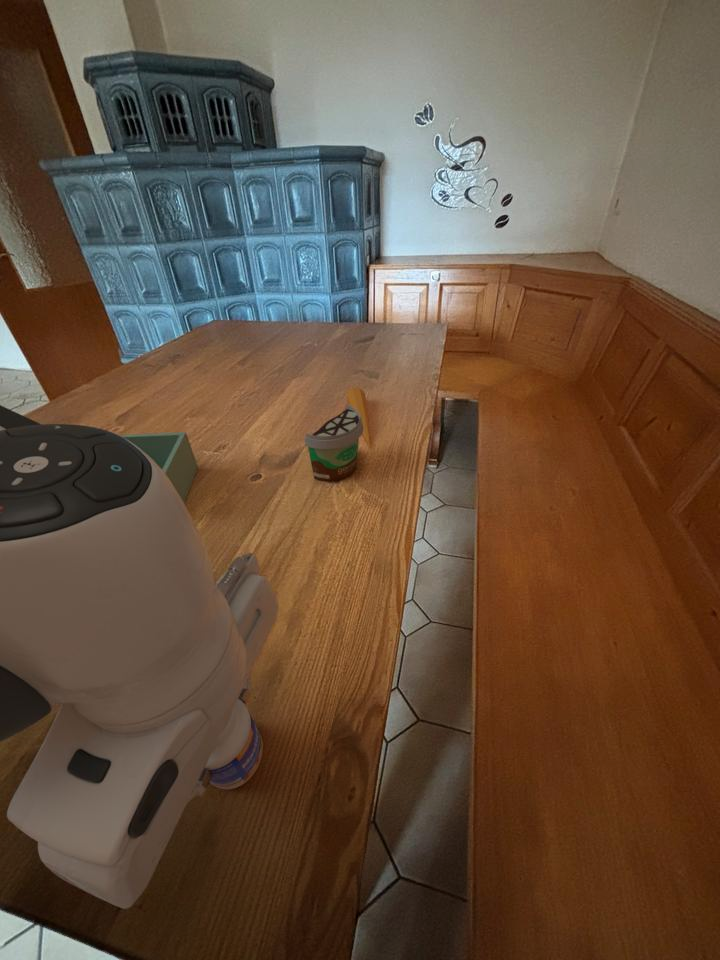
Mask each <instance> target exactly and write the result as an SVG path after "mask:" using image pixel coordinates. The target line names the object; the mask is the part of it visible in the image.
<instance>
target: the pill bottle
mask: <svg viewBox="0 0 720 960" xmlns="http://www.w3.org/2000/svg"><path fill="white" fill-rule="evenodd" d="M263 751H264V743H263V738H262V735H261V733H260V730H259V729H258V727H257V725H256V723H255V721H254V719H253V717H252V715H251V713H250V711H249V709H248V707H247V706H246V705H245V704H244V703H243V702H242V701H241V700H240V699H239V698H238V700H237V702H236V704H235V706H234V708H233V710H232V712H231V714H230V716H229V718H228V720H227V722H226V724H225V727H224V729H223V731H222V733H221V735H220V737H219V739H218V741H217V743H216V745H215V747H214V749H213V751H212V753H211V755H210V757H209V759H208V762H207V764H206V766H205V769H207V770H209V771H210V772H211V774H213V776H212V778H211V780H210V782H209V784H211V785H213V786H214V787H216V788H218V789H222V790H234V789H236V788H238V787H241V786H243V785H244V784H245V783H247V782H248V781H249V780H250V779H252V777H253V775H254V774H255V773H256V771H257V770H258V768H259V766H260V763H261V761H262V757H263Z"/></svg>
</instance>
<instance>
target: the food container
mask: <svg viewBox="0 0 720 960" xmlns="http://www.w3.org/2000/svg"><path fill="white" fill-rule="evenodd" d="M362 433H363V423H362V419H361V417H360V415H359V413H358V411H357V410H356V409H354V408H353V407H351V406H349V405H348V403H346V404H345V409H344V410H342V412H340V413H339V414H338V415H336V416H334V417H332V418H330V419H328V420H327V421H326V422H325V423H324V424H322V426H320V427H319V429H318V430H316V431H315V432H313V433H312V434H310V433H305V437H304V446H305V447H307V449H308V454H309V459H310V463H311V469H312V473H313V479H315V480H317V481H321V482H326V483H327V482H328V483H333V482H339V481H342V480H346V479H347V478H349V477H351V476H353V474H354V473H355V472H356V470H357V466H358V465H357V464H358V453H359V441H360V437H361V436H363V435H362Z"/></svg>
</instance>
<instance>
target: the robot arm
mask: <svg viewBox="0 0 720 960" xmlns="http://www.w3.org/2000/svg"><path fill="white" fill-rule="evenodd" d="M120 435H121V434H117V433H115V432H112V431H109V430H106V429H103V428H99V427H94V426H89V425H81V424H71V423H70V424H69V423H44V424H41V422H40V423H39V422H37V421H36V420H34V419H31V418H29V417H27V416H25V415H23V414H20V413H18V412H17V411H14V410H12V409H10V408H7V407H5V406H3V405H1V404H0V743H1V742H3V741H5V740H8V739H9V738H12V737H13V736H15V735H17V734H19V733H21V732H23V731H25V730H26V729H28V728H30V727H31V726H33V725H34V724H37V723H38V722H40V721H41V720H42V719H44V718H45V717H47V715H49V714H50V713H51V712H52V708H53V707H54V706H56V705H59V704H60V705H59V708H58V711H57V713H56V715H55V717H54V719H53V722H52V724H51V726H50V728H49V730H48V732H47V733H46V736H45V738H44V740H43V742H42V744H41V746H40V747H39V749H38V751H37V752H36V755H35V757H34V759H33V760H32V762H31V764H30V765H29V767H28V769H27V771H26V773H25V775H24V776H23V778H22V780H21V781H20V783H19V785H18V786H17V788H16V790H15V792H14V794H13V796H12V798H11V800H10V802H9V804H8V807H7V812H6V818H7V821H9V822H10V823H12V825H14V826H15V827H16V828H17V829H18V830H19V831H20V832H22V833H24V834H25V835H27V836H28V837H29V838H31V839H32V840H34V841H35V842H36V843H37V852H38V856H39V859H40V860H41V862H42V864H43V865H44V866H45V867H46V868H47V869H48V870H49V871H50V872H51V873H53V874H54V875H55V876H57V877H59V879H61V880H63V881H65V882H67V883H68V884H70V885H72V886H74V887H75V888H78V889H80V890H82V891H83V892H85V893H87V894H89V895H92V896H94V897H95V898H97V899H100V900H101V901H104V902H106V903H109V904H111V905H113V906H115V907H117V908H120V909H123V910H127V909H129V908H131V907H132V906H133V905H134V904H135V903H136V902H137V901H138V899H139V898H140V897H141V896H142V894H143V893H144V892H145V890H146V888H147V887H148V885H149V884H150V882H151V880H152V877H153V875H154V873H155V871H156V869H157V867H158V864H159V862H160V860H161V858H162V857H163V854H164V852H165V851H166V848H167V846H168V844H169V842H170V840H171V837H172V835H173V833H174V831H175V830H176V828H177V825H178V823H179V822H180V820H181V818H182V815H183V813H184V811H185V809H186V807H187V804H188V803H189V802H190V801H191V800H193V798H195V797H196V796H198V797H201V798H203V797H204V795H205V792H206V791H207V789H208V787H209V785H210V780H211V778H212V776H213V774H211V772H210V771H209V770H207V769H205V766H206V764H207V762H208V759H209V757H210V755H211V753H212V751H213V749H214V747H215V745H216V743H217V741H218V739H219V737H220V735H221V733H222V731H223V729H224V727H225V724H226V722H227V720H228V718H229V716H230V714H231V712H232V710H233V708H234V706H235V704H236V702H237V700H238V698H239V699H240V700H241V701H242V702H243V703H244V704H245V706H246V705H247V702H248V700H249V698H250V696H251V694H252V692H253V689H254V688H253V686H252V684H251V682H252V677H253V672H254V671H253V670H254V667H255V664H256V662H257V660H258V659H259V657H260V654H261V652H262V650H263V648H264V647H265V644H266V642H267V640H268V638H269V636H270V634H271V632H272V630H273V627H274V626H275V624H276V621H277V618H278V614H279V610H280V609H279V608H280V604H279V601H278V598H277V595H276V592H275V590H274V588H273V586H272V585H271V583H270V581H269V580H268V579H267V577H265V576H263V575H261V569H260V564H259V560H258V557H257V556H256V555H255V554H253V553H252V552H246V553H244V554H243V555H241V556H236V558H234V559H233V561H232V562H231V563H230V564H229V566H228V568H227V570H226V571H225V572H224V573H223V574H222V575H221V576H220V577H219V578H218V579H217V580H216V582H215V573H214V567H213V566H214V565H213V563H212V559H211V557H210V554H209V552H208V550H207V548H206V545H205V543H204V541H203V539H202V536H201V534H200V531H199V529H198V527H197V525H196V523H195V522H194V519H193V518H192V516H191V514H190V512H189V510H188V508H187V506H186V504H185V503H184V502H183V501H182V499H181V497H180V496H179V494H178V492H177V491H176V489H175V488H174V486H173V484H172V483H171V481H170V480H169V478H168V477H167V476H166V474H165V473H164V472H163V470H162V469H161V468H160V467H159V466H158V465H157V464H156V463H155V461H154V460H153V459H152V458H151V457H149V456H148V455H147V454H146V453H145V452H144V451H142V450H141V449H140V448H139V447H137V446H136V445H135V444H133V443H132V442H130V441H129V440H127V439H125V438H124V437H122V436H120Z"/></svg>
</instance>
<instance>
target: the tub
mask: <svg viewBox="0 0 720 960" xmlns="http://www.w3.org/2000/svg"><path fill="white" fill-rule="evenodd" d="M119 435H120V436H122V437H124V438H125V439H127V440H129V441H130V442H132V443H133V444H135V445H136V446H137V447H139V448H140V449H141V450H142V451H144V452H145V453H146V454H147V455H148V456H149V457H151V458H152V459H153V460H154V461H155V463H156V464H157V465H158V466H159V467H160V468H161V469H162V470H163V472H164V473H165V474H166V476H167V477H168V478H169V480H170V481H171V483H172V484H173V486H174V488H175V489H176V491H177V492H178V494H179V496H180V497H181V499H182V501H183V502H184V504H185V503H186V500H187V497H188V495H189V492H190V490H191V487H192V485H193V482H194V479H195V477H196V475H197V473H198V470H199V465H198V463H197V460H196V456H195V454H194V451H193V449H192V448H193V447H192V445H191V443H190V439H189V437H188V434H187V431H180V432H179V431H178V432H177V431H175V432H157V433H156V432H155V433H130V434H119Z"/></svg>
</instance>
